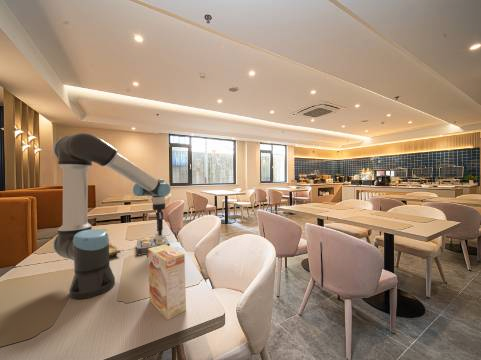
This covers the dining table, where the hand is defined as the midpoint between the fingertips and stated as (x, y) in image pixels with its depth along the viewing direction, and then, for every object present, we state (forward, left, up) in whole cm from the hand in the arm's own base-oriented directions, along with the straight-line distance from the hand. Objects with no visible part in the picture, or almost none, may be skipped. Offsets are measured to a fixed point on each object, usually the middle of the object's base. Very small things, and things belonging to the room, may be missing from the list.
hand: (160, 239), depth 129 cm
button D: (+8, +8, -4) cm, 12 cm away
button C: (+8, 0, -2) cm, 8 cm away
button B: (0, +8, -5) cm, 9 cm away
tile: (-7, +4, -5) cm, 10 cm away
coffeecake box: (-63, +5, -6) cm, 63 cm away
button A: (0, 0, -4) cm, 4 cm away
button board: (+4, +4, -5) cm, 8 cm away
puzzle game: (+6, +31, -6) cm, 32 cm away
